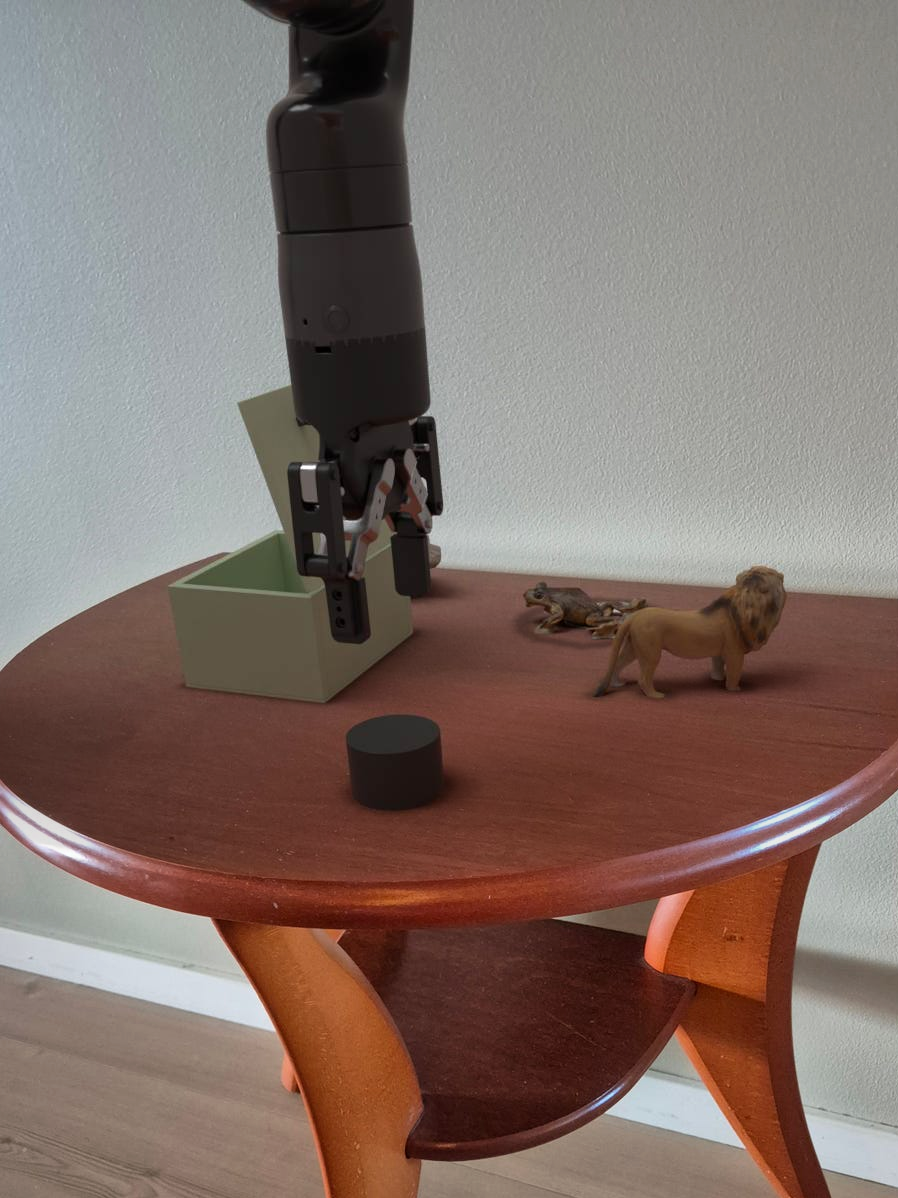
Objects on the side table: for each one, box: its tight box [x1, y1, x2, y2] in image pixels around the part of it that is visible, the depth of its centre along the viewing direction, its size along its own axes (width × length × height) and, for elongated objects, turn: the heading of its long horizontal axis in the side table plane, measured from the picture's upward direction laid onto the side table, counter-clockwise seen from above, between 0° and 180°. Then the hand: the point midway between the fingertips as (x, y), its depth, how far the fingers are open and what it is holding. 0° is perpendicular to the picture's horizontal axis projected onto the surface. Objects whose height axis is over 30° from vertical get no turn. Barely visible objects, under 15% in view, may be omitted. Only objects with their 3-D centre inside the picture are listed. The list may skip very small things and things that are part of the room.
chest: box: [167, 529, 414, 704], centre depth 96 cm, size 13×16×9 cm
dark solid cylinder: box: [345, 713, 445, 812], centre depth 76 cm, size 6×6×4 cm
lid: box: [236, 384, 397, 592], centre depth 88 cm, size 14×16×6 cm
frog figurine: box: [522, 581, 649, 640], centre depth 102 cm, size 12×12×4 cm
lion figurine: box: [592, 565, 788, 699], centre depth 87 cm, size 15×5×9 cm, turn 102°
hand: (384, 617), depth 71 cm, fingers open, 8 cm apart
